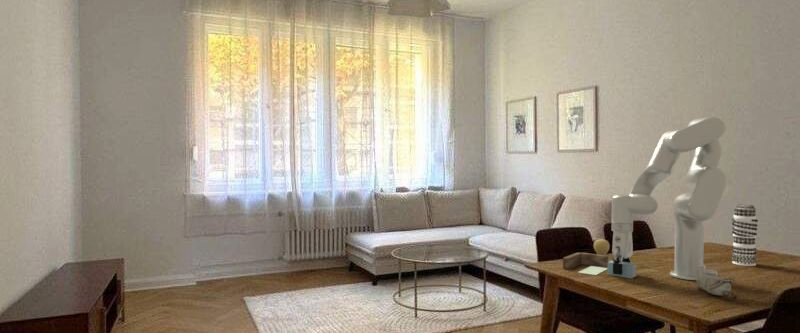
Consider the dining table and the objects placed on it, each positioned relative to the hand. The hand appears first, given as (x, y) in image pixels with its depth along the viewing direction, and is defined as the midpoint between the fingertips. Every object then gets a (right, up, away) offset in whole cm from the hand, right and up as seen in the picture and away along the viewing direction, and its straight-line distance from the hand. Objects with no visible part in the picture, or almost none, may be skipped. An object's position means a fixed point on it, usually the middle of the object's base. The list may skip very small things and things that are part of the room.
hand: (621, 271), depth 195 cm
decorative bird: (+19, -2, -27) cm, 33 cm away
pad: (-8, -1, +8) cm, 11 cm away
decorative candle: (+61, -1, +21) cm, 64 cm away
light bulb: (+2, -1, +24) cm, 24 cm away
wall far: (-13, -1, +16) cm, 21 cm away
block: (0, -2, 0) cm, 2 cm away
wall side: (-4, -1, +18) cm, 19 cm away
